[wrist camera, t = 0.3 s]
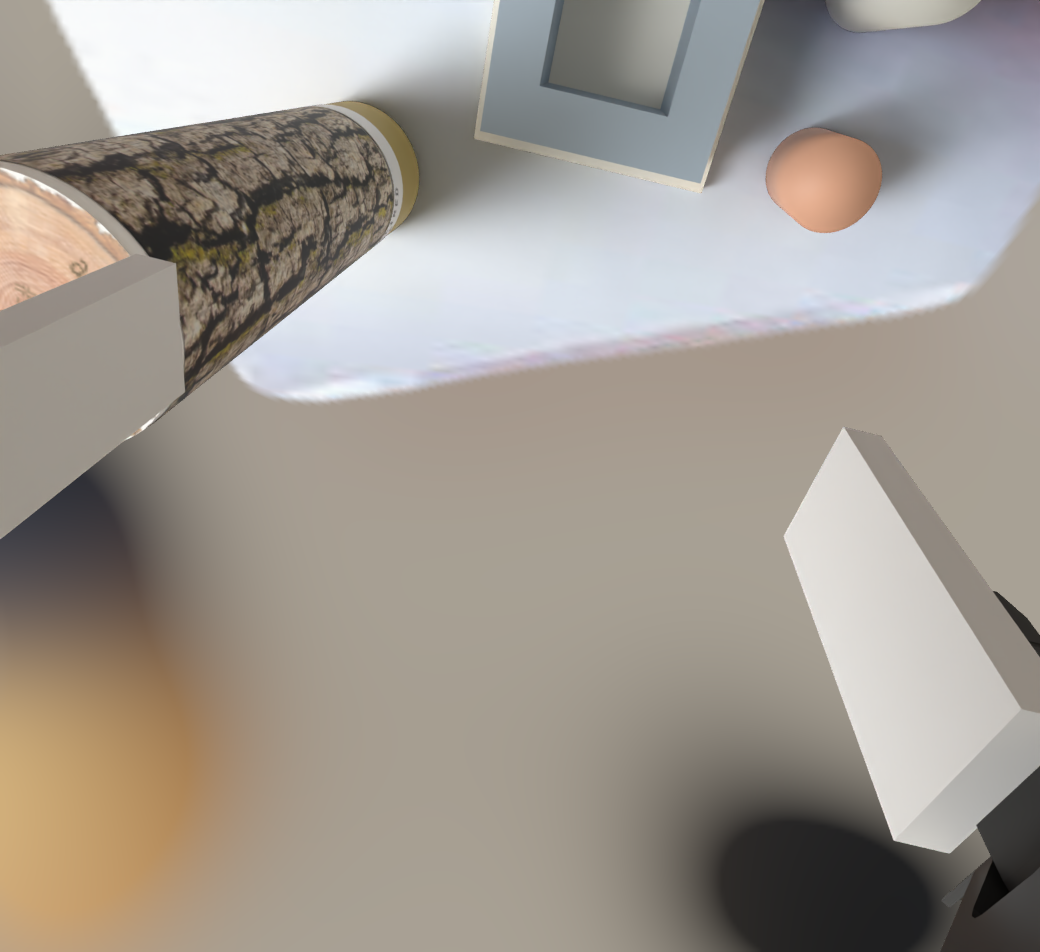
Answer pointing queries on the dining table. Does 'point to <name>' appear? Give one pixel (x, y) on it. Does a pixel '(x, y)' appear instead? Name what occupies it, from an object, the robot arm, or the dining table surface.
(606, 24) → the socket board
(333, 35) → the dining table surface
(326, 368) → the dining table surface
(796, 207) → the short dowel
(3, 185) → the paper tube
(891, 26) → the medium dowel
